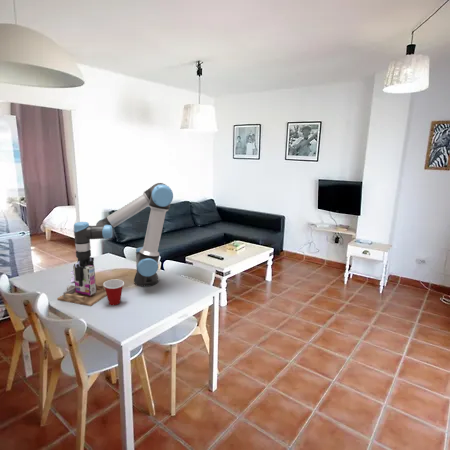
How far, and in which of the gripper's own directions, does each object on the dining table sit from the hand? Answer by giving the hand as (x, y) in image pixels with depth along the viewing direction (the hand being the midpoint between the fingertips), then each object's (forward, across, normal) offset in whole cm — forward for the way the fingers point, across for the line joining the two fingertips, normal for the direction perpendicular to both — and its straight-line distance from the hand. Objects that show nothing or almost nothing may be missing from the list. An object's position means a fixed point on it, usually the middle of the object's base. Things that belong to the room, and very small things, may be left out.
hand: (86, 289), depth 180 cm
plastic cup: (+5, +2, +20) cm, 21 cm away
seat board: (+5, 0, -1) cm, 5 cm away
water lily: (+5, -17, -20) cm, 27 cm away
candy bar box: (+3, 0, 0) cm, 3 cm away
